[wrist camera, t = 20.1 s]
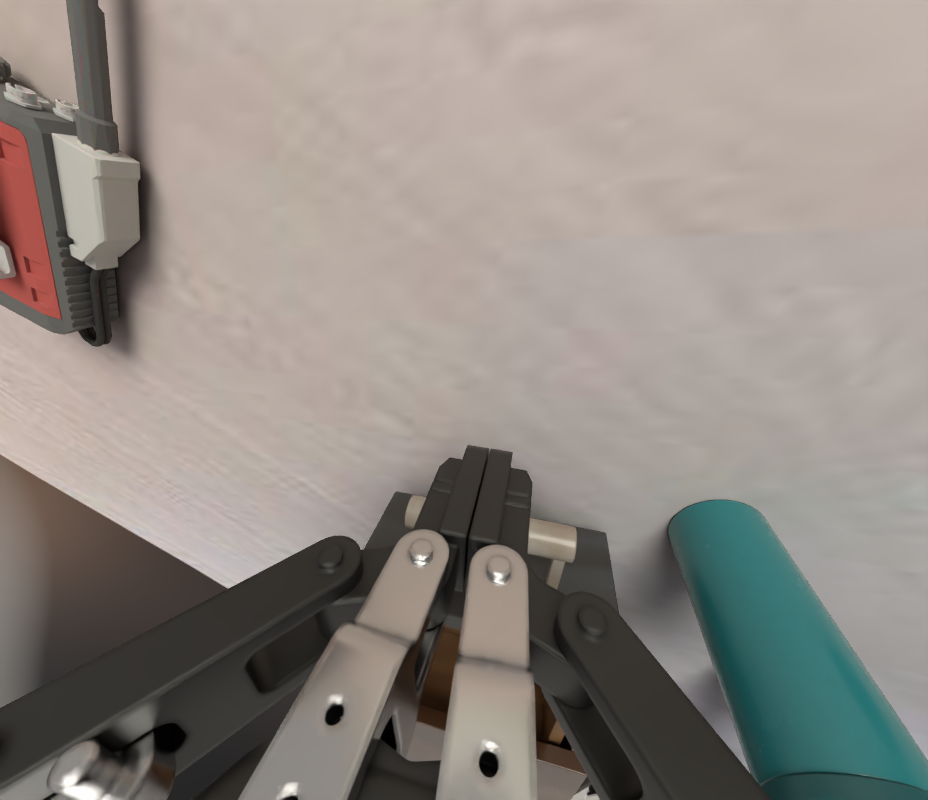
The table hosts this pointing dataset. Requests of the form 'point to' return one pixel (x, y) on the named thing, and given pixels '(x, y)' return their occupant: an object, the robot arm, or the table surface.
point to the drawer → (552, 559)
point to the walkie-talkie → (65, 193)
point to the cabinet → (554, 763)
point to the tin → (789, 667)
